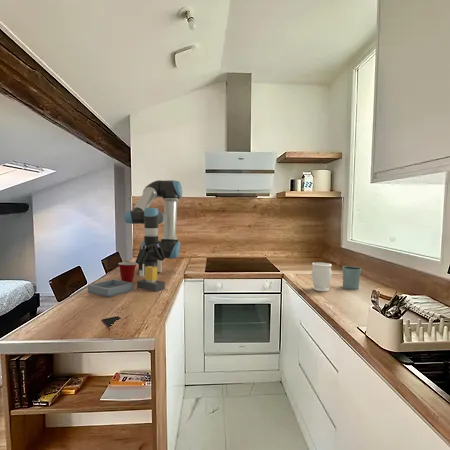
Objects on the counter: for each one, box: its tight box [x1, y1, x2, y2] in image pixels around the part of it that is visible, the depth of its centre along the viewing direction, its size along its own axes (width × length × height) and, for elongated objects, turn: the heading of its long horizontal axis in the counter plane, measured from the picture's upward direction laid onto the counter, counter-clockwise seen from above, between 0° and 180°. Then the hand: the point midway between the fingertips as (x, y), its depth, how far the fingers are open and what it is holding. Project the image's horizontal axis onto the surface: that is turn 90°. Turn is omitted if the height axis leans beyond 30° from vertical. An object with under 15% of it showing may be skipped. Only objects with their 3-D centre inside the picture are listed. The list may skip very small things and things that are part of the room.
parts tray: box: [87, 278, 134, 298], centre depth 153 cm, size 16×16×4 cm
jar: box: [311, 261, 333, 292], centre depth 164 cm, size 11×10×15 cm
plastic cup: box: [117, 261, 137, 283], centre depth 172 cm, size 11×11×12 cm
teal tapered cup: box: [341, 265, 362, 291], centre depth 170 cm, size 10×10×12 cm
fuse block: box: [136, 278, 166, 292], centre depth 160 cm, size 7×14×4 cm, turn 60°
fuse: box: [144, 266, 158, 283], centre depth 160 cm, size 4×6×12 cm, turn 60°
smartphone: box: [100, 316, 122, 330], centre depth 110 cm, size 7×1×14 cm
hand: (150, 273), depth 160 cm, fingers open, 13 cm apart
